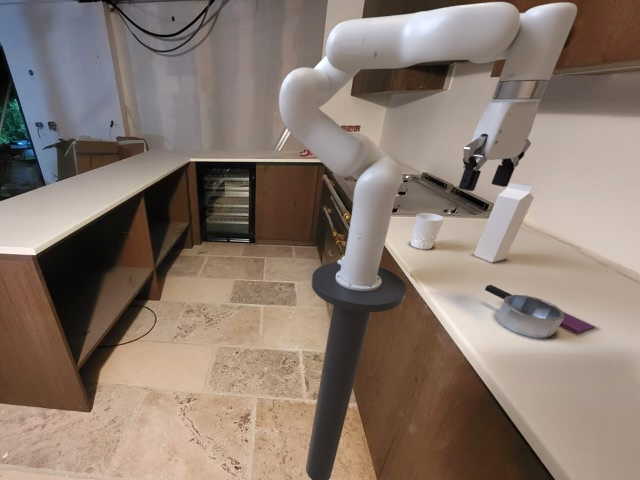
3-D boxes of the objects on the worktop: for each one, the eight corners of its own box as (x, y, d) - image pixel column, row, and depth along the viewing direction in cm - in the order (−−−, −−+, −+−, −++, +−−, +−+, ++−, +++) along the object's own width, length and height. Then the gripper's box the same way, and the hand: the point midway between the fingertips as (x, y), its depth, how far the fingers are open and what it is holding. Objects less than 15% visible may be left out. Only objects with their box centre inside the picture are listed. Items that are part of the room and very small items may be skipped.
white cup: (406, 246, 108) (414, 217, 103) (411, 239, 114) (419, 211, 108) (432, 251, 104) (442, 222, 99) (435, 244, 110) (445, 215, 105)
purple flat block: (517, 304, 77) (518, 302, 77) (534, 300, 79) (535, 298, 79) (576, 333, 68) (577, 331, 68) (594, 327, 70) (595, 325, 69)
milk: (486, 252, 104) (516, 181, 92) (505, 259, 99) (539, 185, 87) (473, 255, 102) (502, 183, 90) (492, 262, 97) (525, 187, 85)
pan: (466, 305, 78) (473, 288, 75) (495, 297, 80) (503, 281, 78) (532, 342, 66) (543, 324, 63) (564, 331, 68) (576, 314, 66)
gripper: (528, 93, 65) (494, 180, 74) (466, 94, 61) (437, 187, 70) (571, 92, 59) (528, 187, 68) (505, 93, 55) (468, 195, 64)
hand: (482, 187), depth 69 cm, fingers open, 9 cm apart
